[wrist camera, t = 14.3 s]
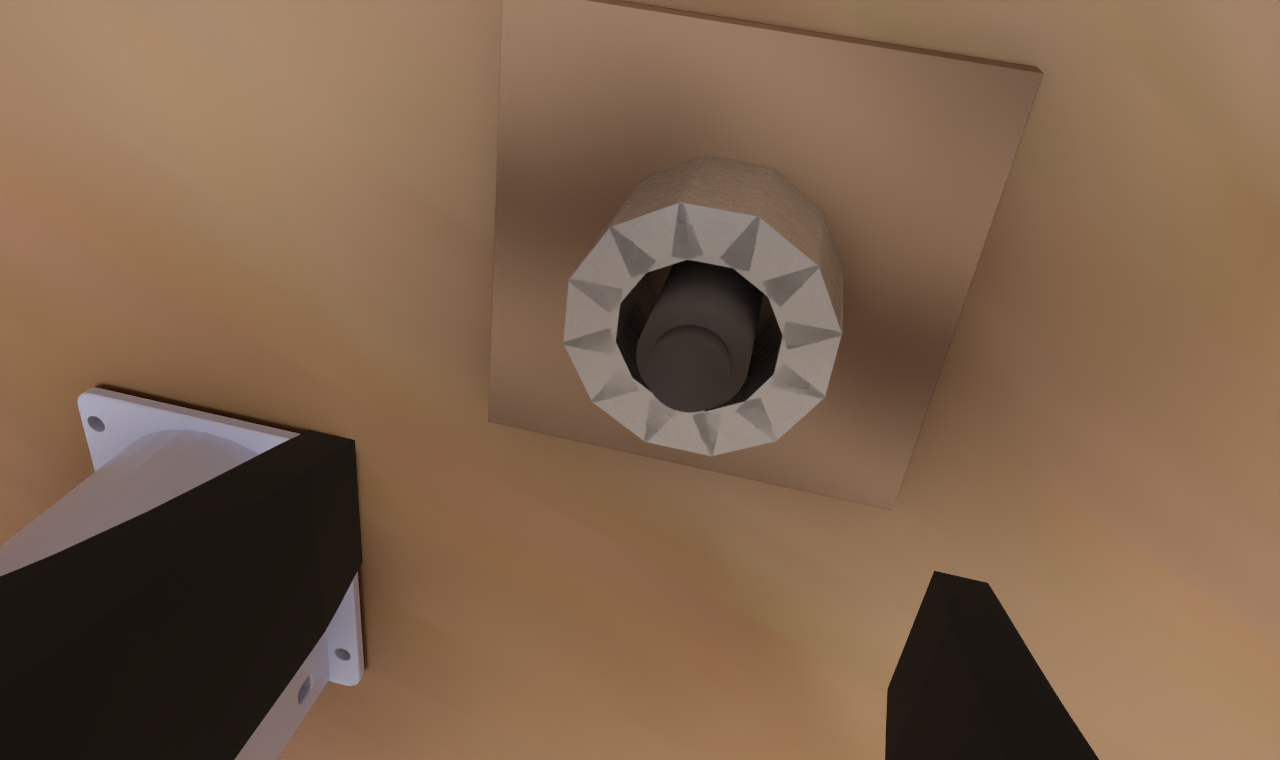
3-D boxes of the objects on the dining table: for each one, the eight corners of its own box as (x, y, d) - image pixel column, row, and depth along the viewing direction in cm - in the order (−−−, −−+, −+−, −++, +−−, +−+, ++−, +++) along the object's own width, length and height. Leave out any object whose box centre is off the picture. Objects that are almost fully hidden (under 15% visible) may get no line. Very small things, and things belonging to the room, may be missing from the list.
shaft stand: (891, 495, 21) (902, 650, 17) (496, 409, 22) (413, 534, 18) (1037, 67, 16) (1105, 135, 12) (513, -16, 17) (403, 18, 13)
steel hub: (809, 399, 20) (804, 476, 17) (592, 354, 20) (556, 423, 18) (865, 182, 17) (869, 236, 14) (615, 138, 18) (575, 182, 15)
